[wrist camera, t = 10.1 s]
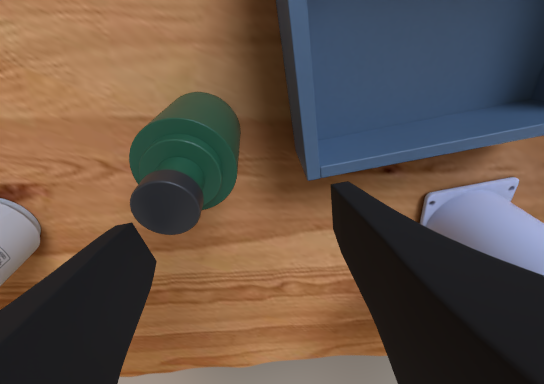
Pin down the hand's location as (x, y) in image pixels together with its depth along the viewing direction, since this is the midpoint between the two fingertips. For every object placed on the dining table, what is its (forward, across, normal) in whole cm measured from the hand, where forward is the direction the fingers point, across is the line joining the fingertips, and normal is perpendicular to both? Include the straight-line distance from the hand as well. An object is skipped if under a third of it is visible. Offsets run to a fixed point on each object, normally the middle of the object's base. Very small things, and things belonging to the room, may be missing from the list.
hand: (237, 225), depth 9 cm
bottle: (+10, +3, -1) cm, 11 cm away
